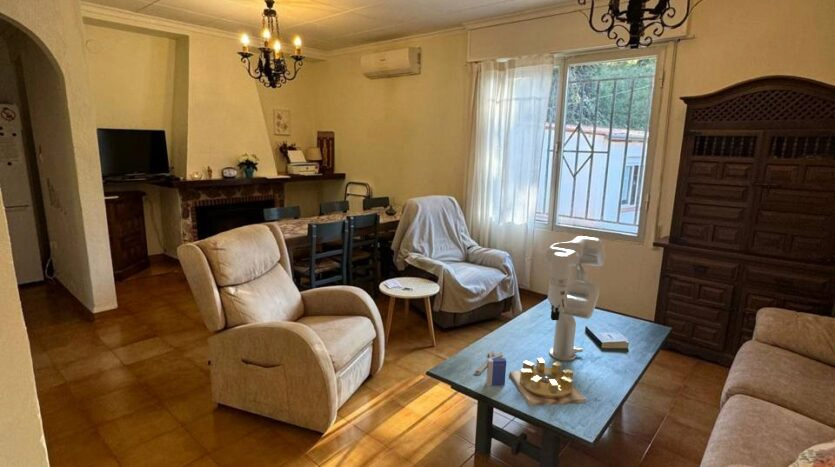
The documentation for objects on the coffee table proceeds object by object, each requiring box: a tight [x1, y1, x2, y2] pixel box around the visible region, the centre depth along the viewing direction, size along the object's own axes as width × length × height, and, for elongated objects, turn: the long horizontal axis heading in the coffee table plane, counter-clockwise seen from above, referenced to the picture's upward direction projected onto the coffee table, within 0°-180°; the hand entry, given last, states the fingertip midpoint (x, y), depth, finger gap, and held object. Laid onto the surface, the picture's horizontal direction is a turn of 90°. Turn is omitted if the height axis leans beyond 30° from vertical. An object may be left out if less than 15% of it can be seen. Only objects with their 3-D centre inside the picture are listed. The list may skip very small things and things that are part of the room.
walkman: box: [485, 356, 507, 387], centre depth 192 cm, size 8×3×12 cm, turn 96°
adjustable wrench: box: [474, 350, 504, 376], centre depth 210 cm, size 25×6×2 cm, turn 142°
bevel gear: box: [520, 357, 574, 399], centre depth 190 cm, size 22×22×6 cm
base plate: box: [509, 370, 586, 407], centre depth 191 cm, size 24×24×2 cm
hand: (554, 319), depth 197 cm, fingers closed
